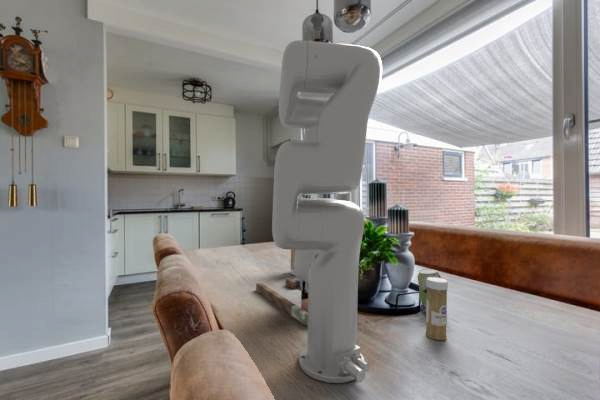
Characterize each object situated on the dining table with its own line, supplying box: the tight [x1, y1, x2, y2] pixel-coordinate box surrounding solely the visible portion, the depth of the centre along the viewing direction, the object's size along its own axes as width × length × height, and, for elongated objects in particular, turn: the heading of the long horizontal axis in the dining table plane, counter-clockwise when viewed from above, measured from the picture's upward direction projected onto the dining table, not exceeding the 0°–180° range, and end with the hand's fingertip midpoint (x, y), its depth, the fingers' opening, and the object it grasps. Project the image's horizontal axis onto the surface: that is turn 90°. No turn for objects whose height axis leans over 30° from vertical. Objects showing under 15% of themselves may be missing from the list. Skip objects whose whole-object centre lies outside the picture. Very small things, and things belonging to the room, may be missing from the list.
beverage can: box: [417, 269, 442, 313], centre depth 80 cm, size 6×7×12 cm
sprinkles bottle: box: [425, 277, 449, 341], centre depth 66 cm, size 5×5×14 cm
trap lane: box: [255, 277, 308, 328], centre depth 89 cm, size 32×22×3 cm
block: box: [300, 299, 308, 312], centre depth 77 cm, size 6×6×4 cm
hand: (307, 304), depth 81 cm, fingers closed
